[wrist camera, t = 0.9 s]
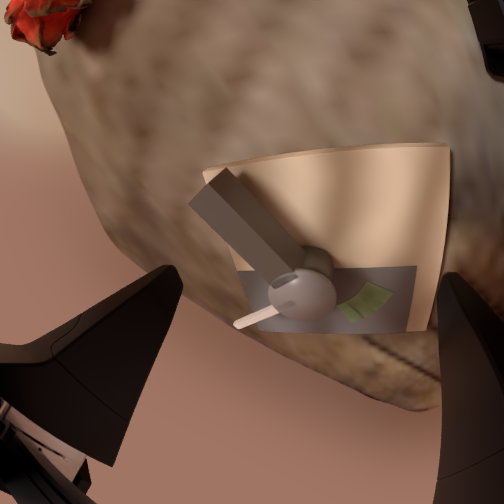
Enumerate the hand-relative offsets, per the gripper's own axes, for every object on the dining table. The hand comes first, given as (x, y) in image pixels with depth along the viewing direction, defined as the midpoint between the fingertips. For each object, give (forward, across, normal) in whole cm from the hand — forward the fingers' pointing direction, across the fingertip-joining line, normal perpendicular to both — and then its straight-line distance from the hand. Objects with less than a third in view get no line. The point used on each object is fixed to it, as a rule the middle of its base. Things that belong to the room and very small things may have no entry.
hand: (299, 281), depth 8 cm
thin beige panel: (+11, 0, +7) cm, 13 cm away
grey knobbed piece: (+10, +6, +6) cm, 12 cm away
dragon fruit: (+11, +16, -20) cm, 28 cm away
